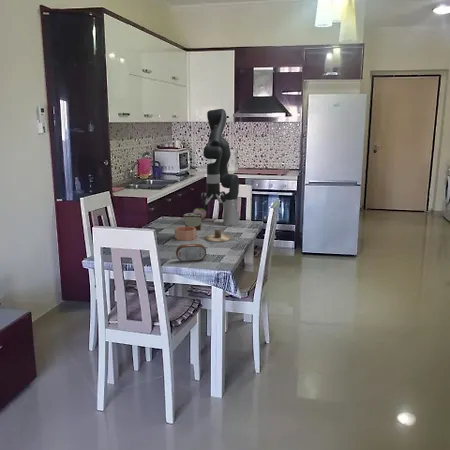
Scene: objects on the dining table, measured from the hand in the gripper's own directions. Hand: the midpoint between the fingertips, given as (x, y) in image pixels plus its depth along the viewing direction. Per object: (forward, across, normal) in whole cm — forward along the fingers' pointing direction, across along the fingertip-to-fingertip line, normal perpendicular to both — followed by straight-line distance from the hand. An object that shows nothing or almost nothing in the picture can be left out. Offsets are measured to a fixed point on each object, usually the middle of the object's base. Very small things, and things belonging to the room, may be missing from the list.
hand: (213, 210), depth 266 cm
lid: (+17, -2, +2) cm, 17 cm away
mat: (+17, -2, +2) cm, 17 cm away
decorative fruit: (+17, -7, -45) cm, 49 cm away
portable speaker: (+18, +25, +34) cm, 45 cm away
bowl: (+17, +15, -7) cm, 24 cm away
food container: (+17, +3, -26) cm, 32 cm away
